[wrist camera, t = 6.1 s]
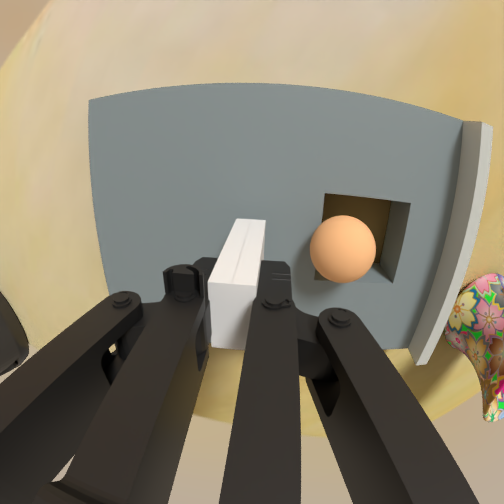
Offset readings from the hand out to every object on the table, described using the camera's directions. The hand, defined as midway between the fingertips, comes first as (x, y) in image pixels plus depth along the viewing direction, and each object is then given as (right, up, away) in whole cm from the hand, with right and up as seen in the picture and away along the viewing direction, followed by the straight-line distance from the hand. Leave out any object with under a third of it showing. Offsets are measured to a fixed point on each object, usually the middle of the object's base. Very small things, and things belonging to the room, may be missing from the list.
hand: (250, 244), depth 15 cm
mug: (+22, -4, +5) cm, 23 cm away
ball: (+6, 0, +1) cm, 6 cm away
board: (+2, +2, +4) cm, 5 cm away
